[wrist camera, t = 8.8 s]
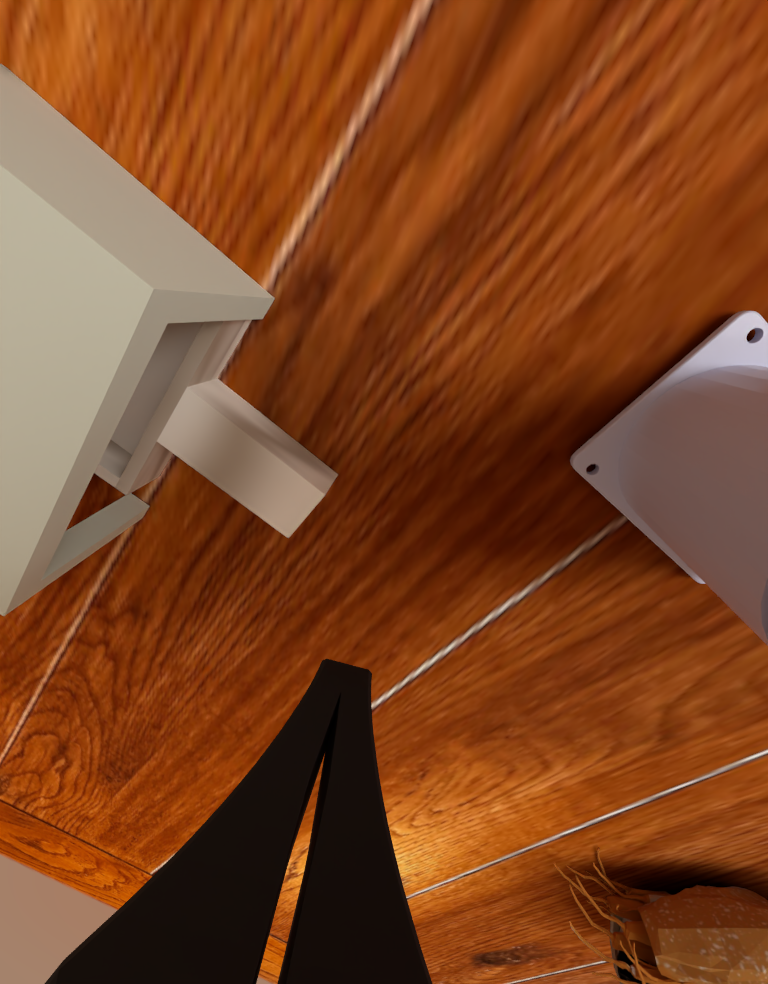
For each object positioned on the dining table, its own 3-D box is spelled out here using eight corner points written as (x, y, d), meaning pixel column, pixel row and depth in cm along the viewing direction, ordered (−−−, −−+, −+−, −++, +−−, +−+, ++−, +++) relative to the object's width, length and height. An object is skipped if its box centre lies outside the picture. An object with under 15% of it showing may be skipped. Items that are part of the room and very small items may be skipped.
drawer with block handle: (383, 421, 18) (375, 435, 16) (269, 555, 22) (250, 582, 19) (37, 128, 15) (-32, 96, 13) (-23, 345, 19) (-83, 349, 16)
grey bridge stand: (275, 298, 16) (154, 288, 9) (142, 517, 22) (4, 616, 15) (5, 67, 14) (-421, -176, 7) (-66, 376, 19) (-344, 412, 12)
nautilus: (501, 861, 33) (631, 767, 27) (706, 974, 34) (871, 907, 29) (517, 1008, 26) (700, 922, 20) (778, 1146, 27) (1018, 1100, 21)
